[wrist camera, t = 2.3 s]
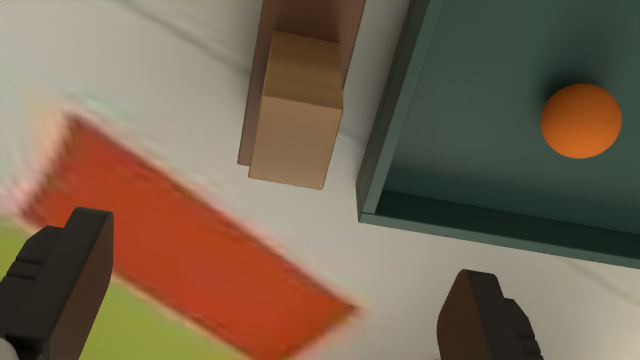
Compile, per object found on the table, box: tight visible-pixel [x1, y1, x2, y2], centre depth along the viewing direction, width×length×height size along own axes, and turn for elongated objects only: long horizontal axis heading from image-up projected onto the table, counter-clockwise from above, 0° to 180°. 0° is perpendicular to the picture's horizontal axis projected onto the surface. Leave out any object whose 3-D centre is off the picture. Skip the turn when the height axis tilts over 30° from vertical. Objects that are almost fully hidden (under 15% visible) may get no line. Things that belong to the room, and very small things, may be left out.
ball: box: [540, 84, 622, 158], centre depth 24 cm, size 3×3×3 cm
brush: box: [237, 0, 366, 190], centre depth 21 cm, size 9×4×8 cm, turn 168°
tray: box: [356, 0, 640, 269], centre depth 25 cm, size 13×18×3 cm
